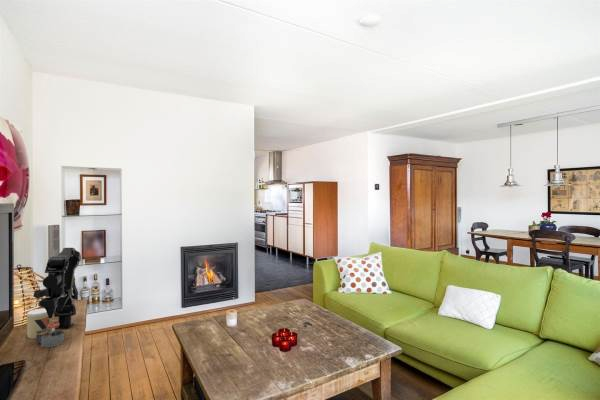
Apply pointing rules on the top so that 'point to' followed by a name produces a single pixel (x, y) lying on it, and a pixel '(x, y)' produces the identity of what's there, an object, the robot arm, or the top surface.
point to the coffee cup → (37, 322)
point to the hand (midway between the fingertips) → (55, 314)
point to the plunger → (53, 326)
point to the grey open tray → (51, 339)
